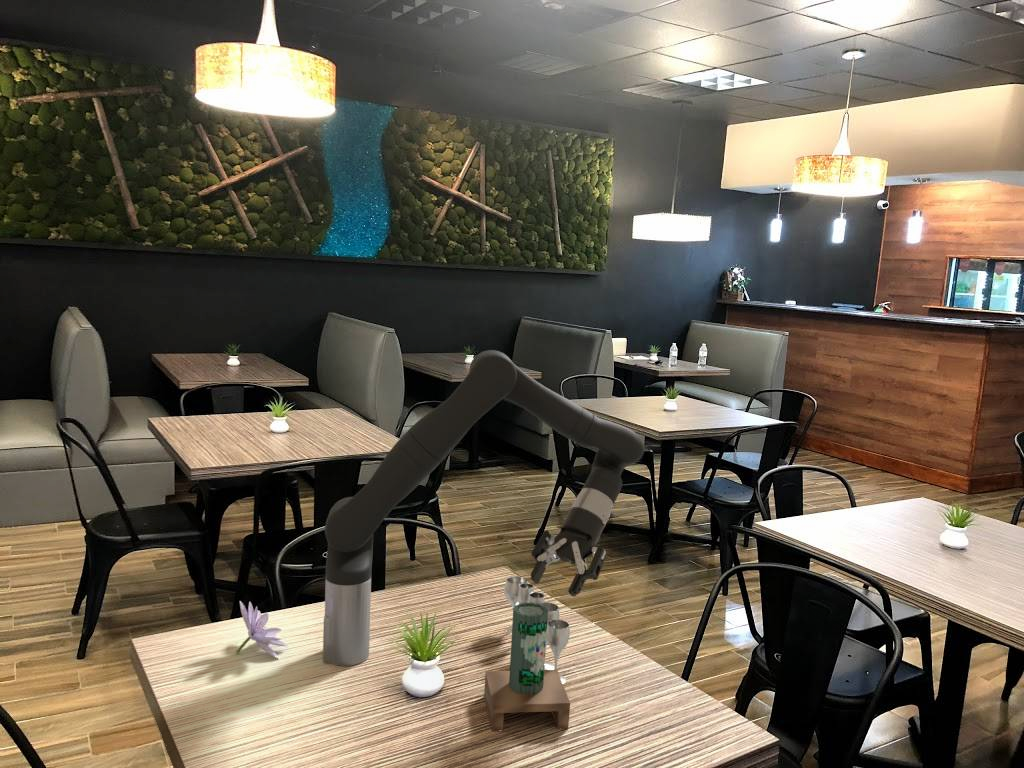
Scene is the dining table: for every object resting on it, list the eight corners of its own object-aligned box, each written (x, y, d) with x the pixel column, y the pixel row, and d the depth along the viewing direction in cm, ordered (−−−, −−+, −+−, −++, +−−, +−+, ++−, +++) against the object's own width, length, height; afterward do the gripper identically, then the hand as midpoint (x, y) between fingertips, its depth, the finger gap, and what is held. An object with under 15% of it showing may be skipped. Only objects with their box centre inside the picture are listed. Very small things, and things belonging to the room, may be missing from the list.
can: (528, 698, 145) (532, 619, 143) (503, 685, 149) (507, 609, 147) (548, 686, 150) (553, 610, 148) (524, 674, 154) (528, 599, 152)
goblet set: (572, 683, 161) (576, 621, 159) (546, 687, 159) (550, 624, 157) (521, 623, 187) (524, 569, 185) (497, 626, 185) (500, 571, 183)
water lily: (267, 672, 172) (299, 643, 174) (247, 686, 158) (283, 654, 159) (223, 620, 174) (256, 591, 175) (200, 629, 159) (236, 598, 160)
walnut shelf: (491, 731, 143) (493, 705, 142) (484, 695, 155) (485, 671, 154) (568, 728, 145) (570, 702, 144) (555, 693, 157) (556, 669, 156)
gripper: (551, 498, 161) (514, 568, 154) (613, 514, 153) (577, 589, 145) (564, 518, 166) (529, 586, 159) (625, 534, 158) (591, 608, 150)
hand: (552, 587), depth 152 cm, fingers open, 8 cm apart
